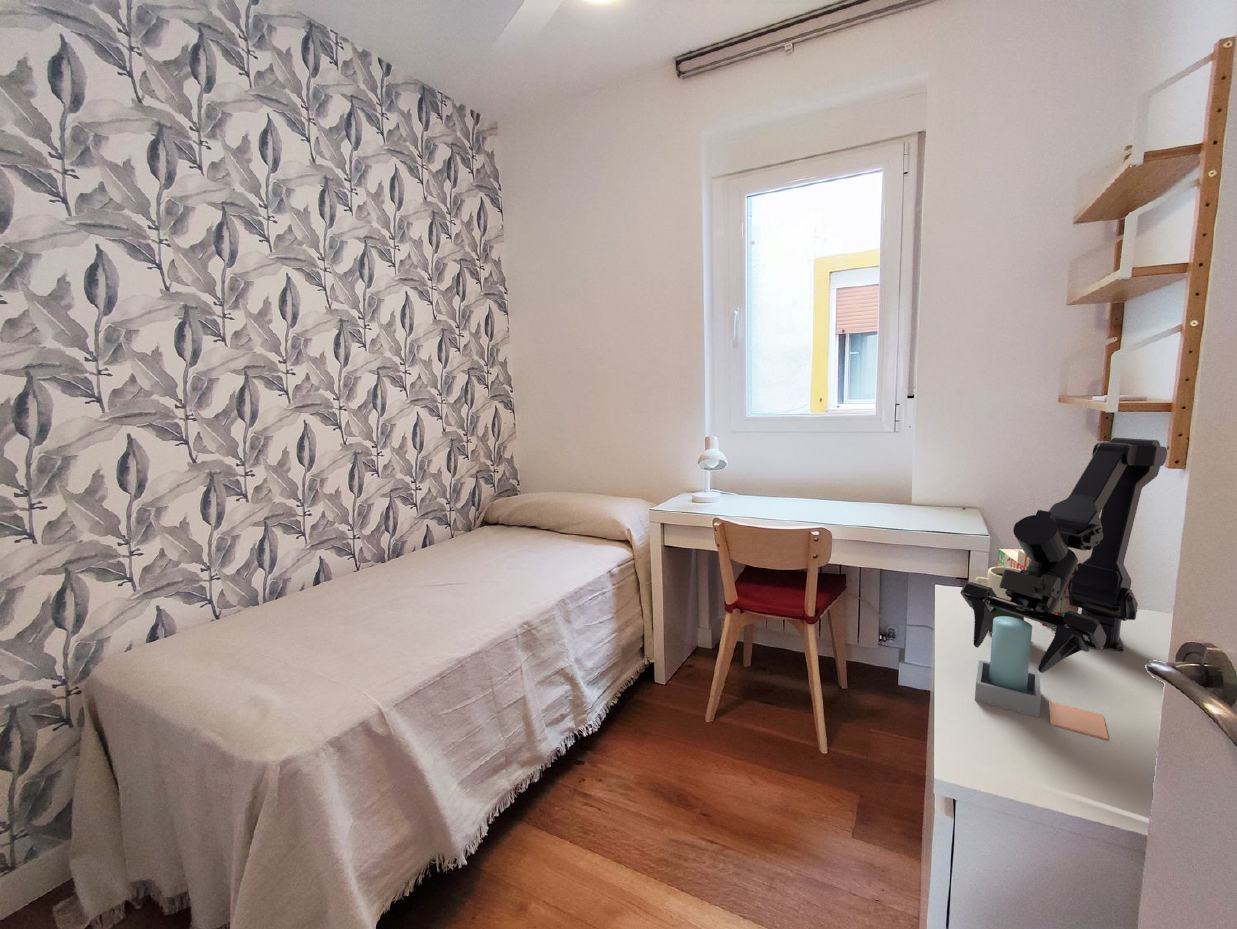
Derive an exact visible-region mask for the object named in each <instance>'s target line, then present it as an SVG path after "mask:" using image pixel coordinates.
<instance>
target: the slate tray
mask: <svg viewBox="0 0 1237 929" xmlns="http://www.w3.org/2000/svg"><path fill="white" fill-rule="evenodd" d="M989 671H990V661H985V660H982V659H979V660H978V666H977V674H976V680H975V692H974V693H975V694H974V701H976V702H981V703H984V704H988V705H990V706H991V705H992V706H995V707H999V708H1003V709H1006V710H1008V711H1009V710H1010V711H1013V712H1018V713H1020V714H1021V713H1022V714H1025V715H1029V716H1033V717H1036V718H1040V715H1041V714H1040V711H1041V701H1042V698H1041V697H1042V694H1041V693H1042V691H1041V678H1040V677H1041V675H1040V673H1038V672H1033V671H1028V682H1027V693H1022V692H1018V691H1014V690H1010V689H1006V688H1002V687H998V686H994V685H990V684H989Z"/></svg>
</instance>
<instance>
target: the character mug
mask: <svg viewBox="0 0 1237 929" xmlns="http://www.w3.org/2000/svg"><path fill="white" fill-rule="evenodd" d="M1004 569H1008V570H1012V571H1015V572H1020V571H1021V570H1020V569H1016V568H1011V567H998V566H994V567H989V568H988V570H987V575H986V576H987V577H982V576H977V577H976V578H975V580H974V581H975V582H974V583H977V584H980V585H982V583H986V586H987V587H990V588H992V589H993V591H994V592H995V594H996V595H997V597H1000V598H1003V599H1006V600H1009V601H1010V600H1011V597H1009V596H1007V595H1006V593H1005V592H1006V590H1007V589H1003V588H999V586H1000V582H1001V579H1002V576H1003V573H1004ZM993 616H994V617H999V616H1008V617H1014V618H1018V619H1021V620H1024V621H1025V617H1022V616H1019V615H1015V614H1012V613H1009V612H1006V611H1003V610H1000V609H998V611H997V613H993ZM992 631H993V624H992V626H991V628H990V629H989V631H988V632H990V633H991V634H992Z"/></svg>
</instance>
